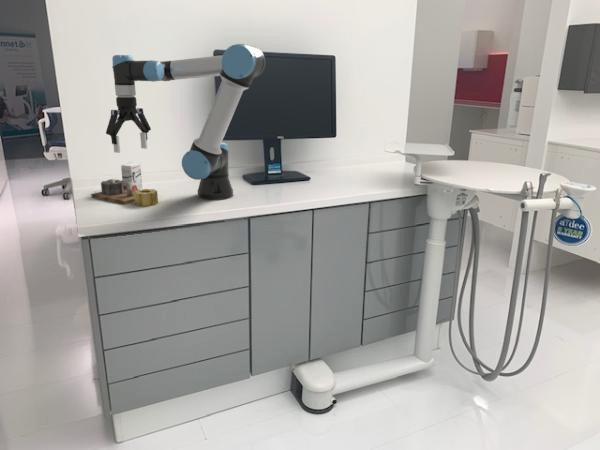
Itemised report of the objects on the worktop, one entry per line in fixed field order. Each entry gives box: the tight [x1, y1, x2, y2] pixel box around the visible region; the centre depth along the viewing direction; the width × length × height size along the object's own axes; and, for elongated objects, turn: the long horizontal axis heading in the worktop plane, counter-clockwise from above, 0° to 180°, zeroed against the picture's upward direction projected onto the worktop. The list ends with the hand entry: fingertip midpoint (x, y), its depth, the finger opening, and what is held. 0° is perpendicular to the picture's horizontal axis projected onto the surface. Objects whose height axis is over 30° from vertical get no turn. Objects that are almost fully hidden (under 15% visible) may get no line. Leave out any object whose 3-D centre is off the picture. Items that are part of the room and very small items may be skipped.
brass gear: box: [134, 188, 159, 207], centre depth 191 cm, size 9×9×5 cm
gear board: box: [90, 178, 135, 205], centre depth 199 cm, size 20×14×7 cm
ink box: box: [120, 161, 143, 191], centre depth 212 cm, size 9×5×12 cm, turn 168°
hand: (131, 150), depth 195 cm, fingers open, 13 cm apart
